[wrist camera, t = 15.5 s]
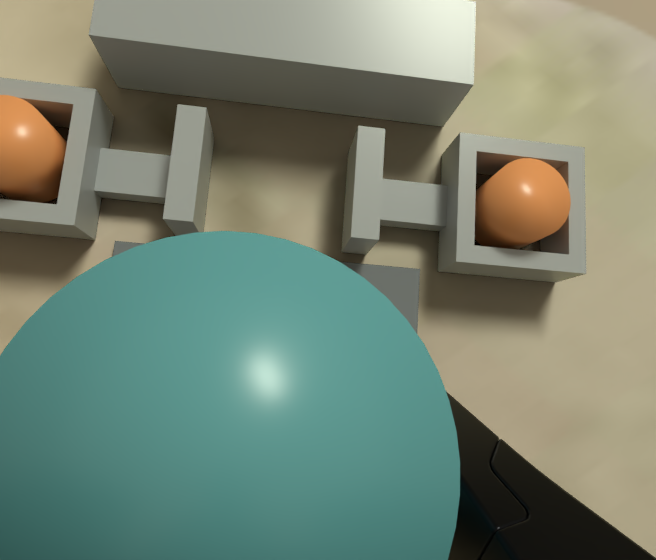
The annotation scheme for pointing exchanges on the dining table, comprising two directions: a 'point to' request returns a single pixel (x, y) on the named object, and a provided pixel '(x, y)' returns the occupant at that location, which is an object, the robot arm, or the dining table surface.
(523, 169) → the right plunger
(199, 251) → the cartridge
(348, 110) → the housing
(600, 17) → the dining table surface
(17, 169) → the left plunger
